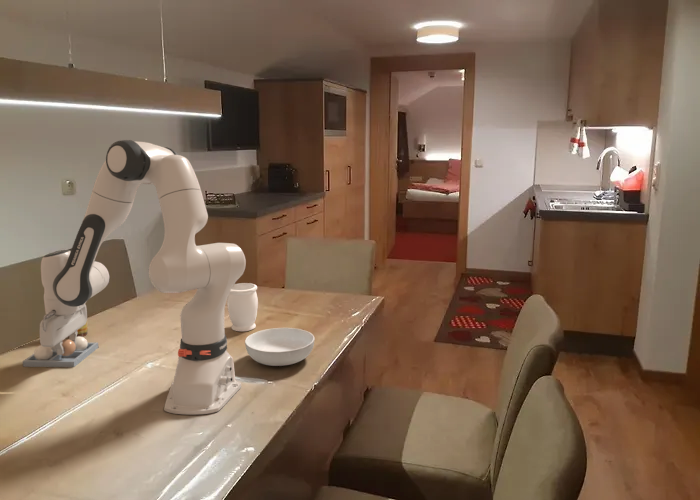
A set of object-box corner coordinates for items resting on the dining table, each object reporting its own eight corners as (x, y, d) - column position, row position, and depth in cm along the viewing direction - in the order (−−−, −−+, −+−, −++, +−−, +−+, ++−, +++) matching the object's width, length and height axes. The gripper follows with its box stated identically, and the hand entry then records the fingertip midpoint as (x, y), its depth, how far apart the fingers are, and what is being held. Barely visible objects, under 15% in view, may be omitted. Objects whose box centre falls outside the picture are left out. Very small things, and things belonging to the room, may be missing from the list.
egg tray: (74, 368, 166) (73, 361, 166) (23, 368, 167) (22, 361, 166) (98, 349, 181) (98, 342, 180) (51, 348, 181) (51, 342, 181)
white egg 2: (83, 355, 174) (82, 339, 173) (67, 355, 175) (65, 339, 174) (91, 349, 179) (89, 334, 178) (75, 348, 179) (74, 333, 178)
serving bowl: (323, 350, 179) (323, 330, 178) (300, 378, 160) (300, 355, 158) (263, 344, 185) (262, 324, 184) (233, 369, 165) (232, 347, 164)
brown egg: (71, 358, 167) (69, 342, 166) (54, 358, 167) (52, 342, 166) (79, 352, 172) (78, 336, 171) (63, 352, 172) (61, 336, 171)
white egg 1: (48, 364, 168) (46, 348, 167) (31, 364, 168) (29, 348, 167) (57, 357, 173) (55, 342, 172) (41, 357, 173) (39, 342, 172)
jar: (242, 335, 193) (240, 292, 190) (222, 328, 199) (220, 287, 196) (265, 326, 201) (263, 285, 198) (244, 320, 207) (243, 281, 204)
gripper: (53, 317, 156) (58, 364, 159) (89, 295, 176) (93, 337, 179) (30, 316, 156) (36, 363, 159) (69, 295, 176) (73, 337, 179)
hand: (66, 349), depth 169 cm, fingers closed on brown egg, 5 cm apart
